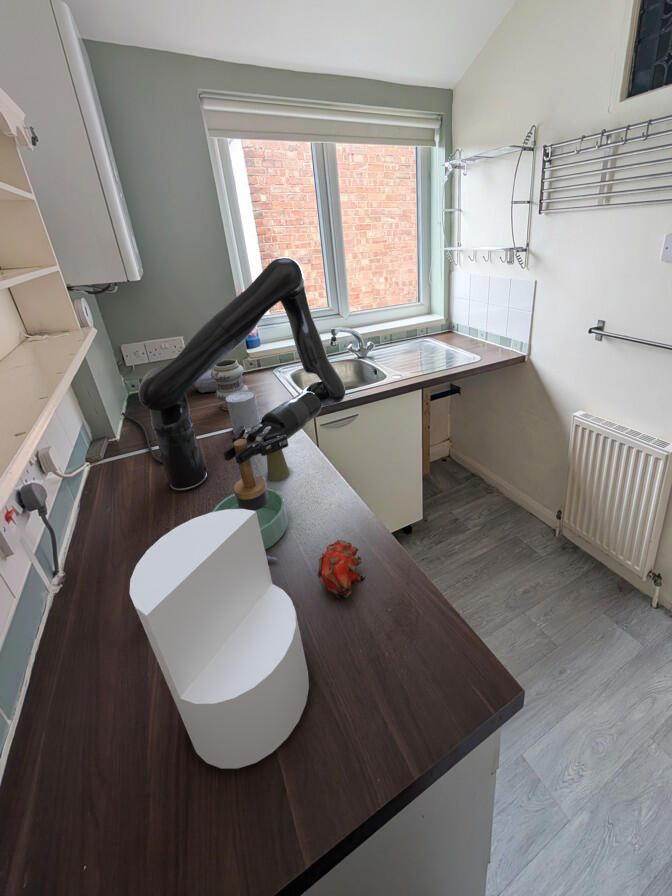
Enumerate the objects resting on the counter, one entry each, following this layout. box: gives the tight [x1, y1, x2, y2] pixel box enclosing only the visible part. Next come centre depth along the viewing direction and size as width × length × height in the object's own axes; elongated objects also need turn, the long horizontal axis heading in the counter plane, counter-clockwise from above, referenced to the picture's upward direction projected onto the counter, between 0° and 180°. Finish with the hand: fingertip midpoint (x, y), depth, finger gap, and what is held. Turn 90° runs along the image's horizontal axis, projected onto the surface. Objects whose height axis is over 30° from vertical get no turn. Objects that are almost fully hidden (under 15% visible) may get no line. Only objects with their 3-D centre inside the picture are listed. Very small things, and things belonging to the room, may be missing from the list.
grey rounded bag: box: [193, 369, 243, 393], centre depth 176 cm, size 15×8×20 cm
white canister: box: [226, 390, 261, 434], centre depth 138 cm, size 10×10×12 cm
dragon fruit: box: [317, 539, 367, 598], centre depth 77 cm, size 8×8×12 cm
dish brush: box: [233, 439, 269, 511], centre depth 85 cm, size 7×7×15 cm
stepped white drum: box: [129, 509, 310, 769], centre depth 55 cm, size 17×17×28 cm
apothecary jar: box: [211, 358, 249, 411], centre depth 156 cm, size 12×12×18 cm
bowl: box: [211, 487, 289, 551], centre depth 92 cm, size 16×16×6 cm
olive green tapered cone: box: [266, 446, 290, 482], centre depth 111 cm, size 6×6×11 cm
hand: (231, 458), depth 80 cm, fingers closed on dish brush, 2 cm apart
